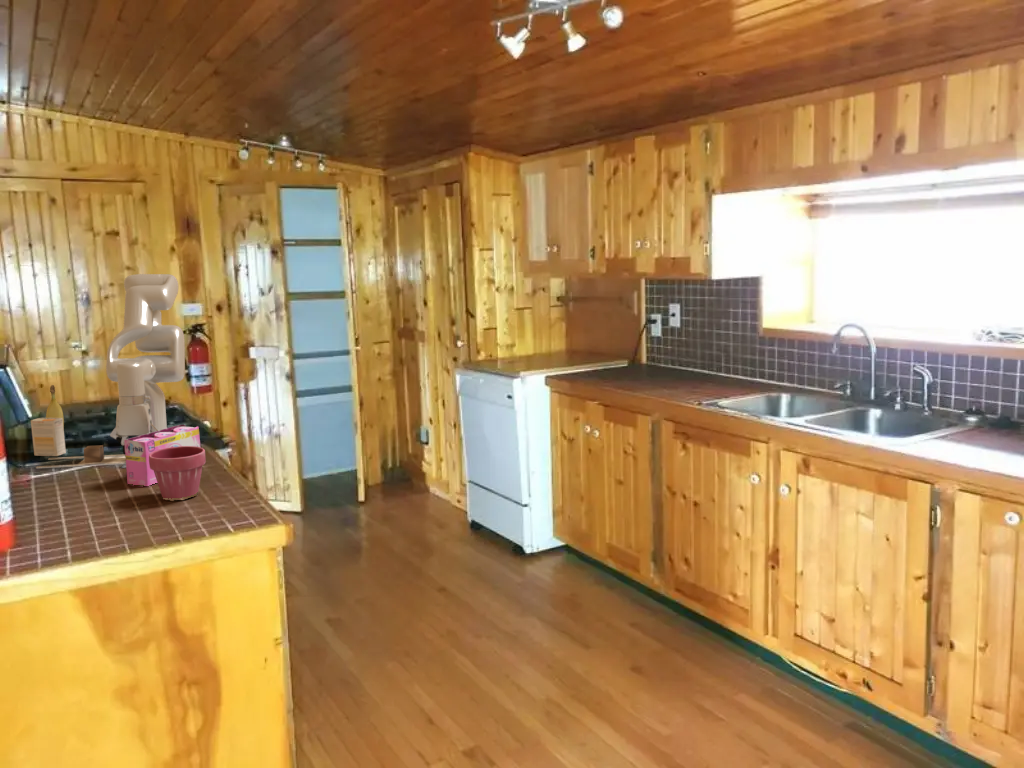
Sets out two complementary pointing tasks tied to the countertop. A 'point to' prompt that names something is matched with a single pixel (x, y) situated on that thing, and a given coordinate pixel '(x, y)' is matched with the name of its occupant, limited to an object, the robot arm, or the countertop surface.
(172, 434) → the gum box
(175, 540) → the countertop surface
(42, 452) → the supplement box
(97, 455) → the block
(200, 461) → the plant pot
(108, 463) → the rails
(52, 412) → the banana
